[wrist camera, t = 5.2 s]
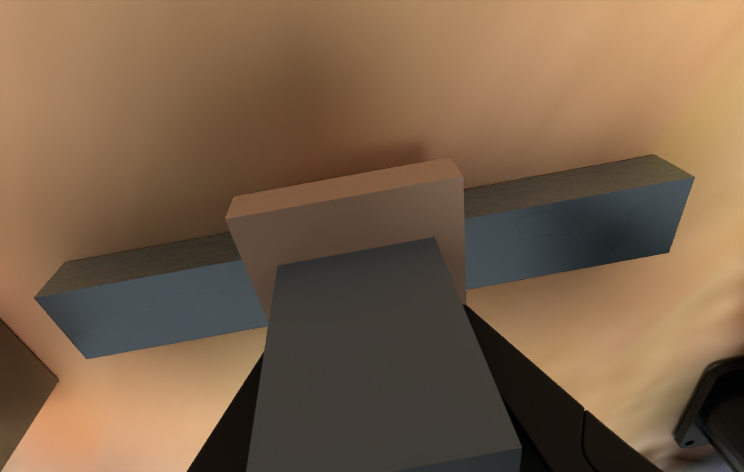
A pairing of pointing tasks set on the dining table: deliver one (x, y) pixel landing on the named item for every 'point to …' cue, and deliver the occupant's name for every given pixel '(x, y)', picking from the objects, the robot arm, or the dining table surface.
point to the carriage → (369, 328)
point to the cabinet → (19, 391)
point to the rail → (482, 256)
